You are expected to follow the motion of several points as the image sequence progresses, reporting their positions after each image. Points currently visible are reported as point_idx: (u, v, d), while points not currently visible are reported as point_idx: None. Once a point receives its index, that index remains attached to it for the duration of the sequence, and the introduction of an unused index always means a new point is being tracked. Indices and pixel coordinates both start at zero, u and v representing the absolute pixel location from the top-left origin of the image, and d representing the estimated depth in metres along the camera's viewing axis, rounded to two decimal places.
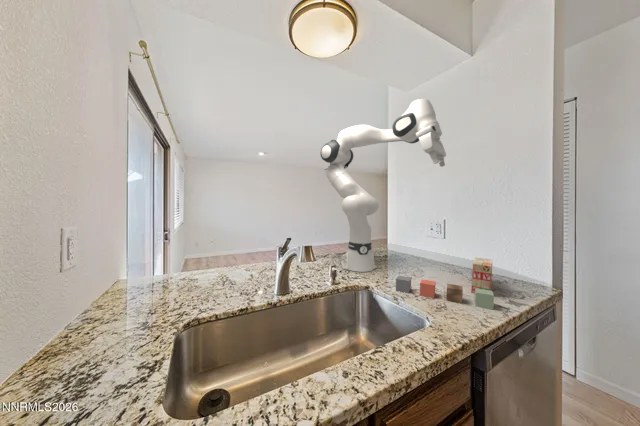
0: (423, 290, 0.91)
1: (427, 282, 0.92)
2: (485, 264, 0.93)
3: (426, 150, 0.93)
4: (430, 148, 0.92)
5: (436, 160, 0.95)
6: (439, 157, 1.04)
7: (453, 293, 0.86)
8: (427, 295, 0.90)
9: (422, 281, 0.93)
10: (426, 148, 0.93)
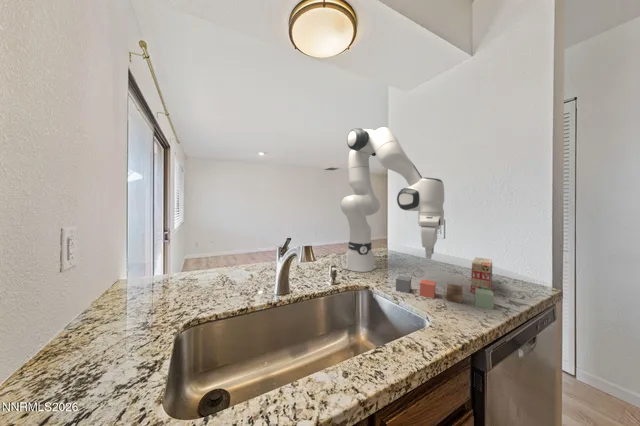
0: (423, 290, 0.91)
1: (427, 282, 0.92)
2: (484, 264, 0.94)
3: (425, 246, 0.83)
4: (429, 246, 0.82)
5: (429, 256, 0.86)
6: None
7: (453, 293, 0.86)
8: (427, 295, 0.90)
9: (422, 281, 0.93)
10: (425, 244, 0.83)
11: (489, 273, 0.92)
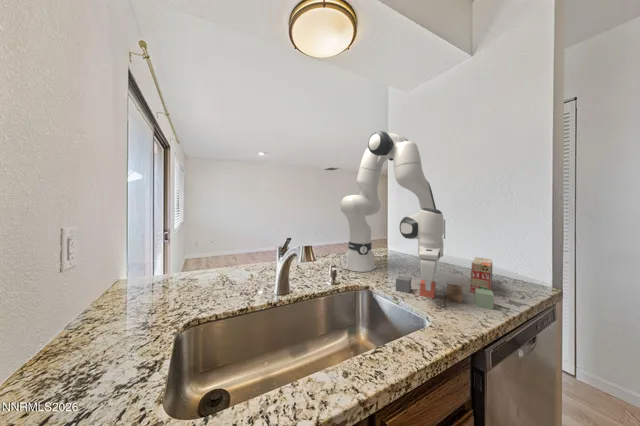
0: (423, 290, 0.91)
1: None
2: (484, 264, 0.94)
3: (425, 279, 0.84)
4: (429, 280, 0.83)
5: (429, 288, 0.87)
6: None
7: (453, 293, 0.86)
8: (427, 295, 0.90)
9: (422, 281, 0.93)
10: (425, 278, 0.83)
11: (489, 273, 0.92)
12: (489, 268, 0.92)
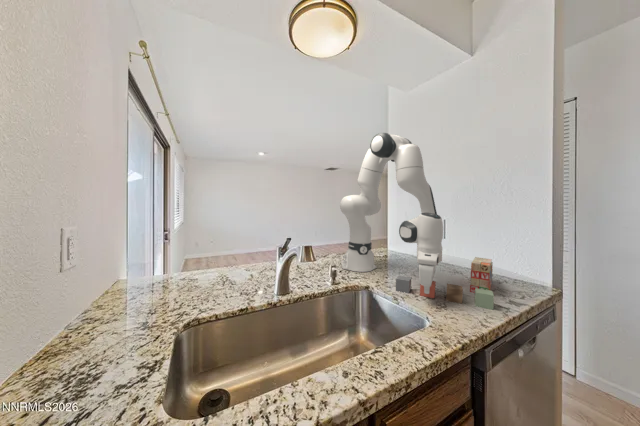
0: (423, 290, 0.91)
1: None
2: (483, 263, 0.94)
3: (423, 284, 0.84)
4: (427, 285, 0.83)
5: (428, 291, 0.89)
6: None
7: (453, 293, 0.86)
8: (427, 295, 0.90)
9: None
10: (423, 283, 0.84)
11: (488, 273, 0.92)
12: (488, 268, 0.92)
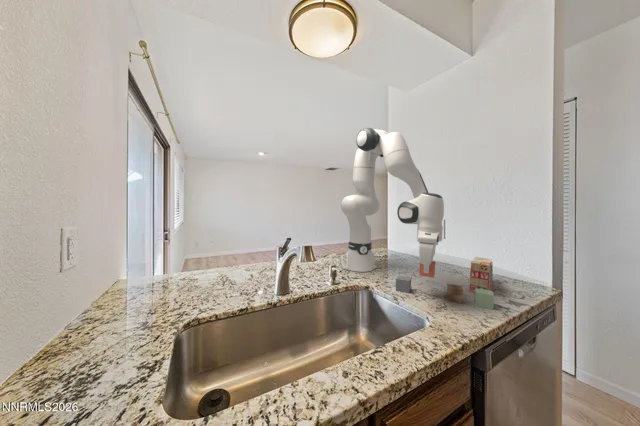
0: (422, 269, 0.91)
1: None
2: (483, 263, 0.94)
3: (422, 263, 0.84)
4: (427, 263, 0.83)
5: (427, 271, 0.88)
6: None
7: (453, 293, 0.86)
8: (427, 274, 0.90)
9: None
10: (422, 261, 0.83)
11: (488, 272, 0.92)
12: (488, 268, 0.92)
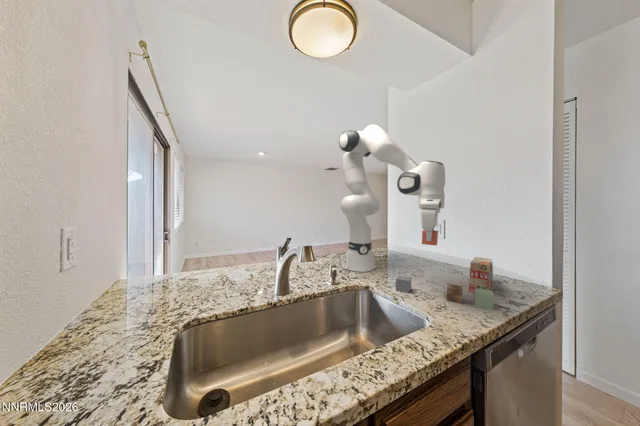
0: (425, 238, 0.90)
1: None
2: (483, 263, 0.95)
3: (425, 228, 0.83)
4: (429, 228, 0.82)
5: (430, 238, 0.88)
6: None
7: (453, 293, 0.86)
8: (429, 243, 0.89)
9: (424, 230, 0.92)
10: (425, 226, 0.83)
11: (487, 272, 0.93)
12: (487, 267, 0.93)
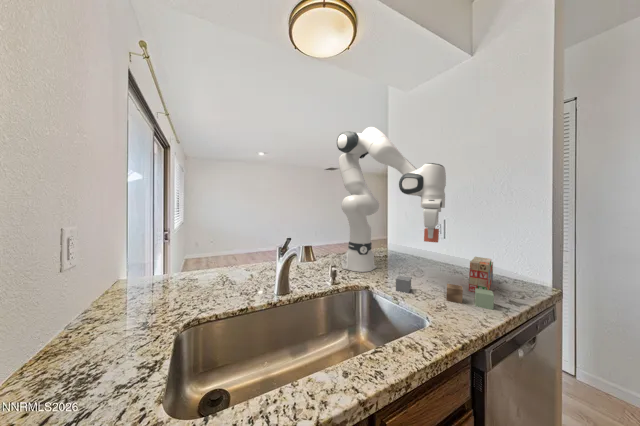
0: (427, 235, 0.96)
1: None
2: (482, 263, 0.95)
3: (427, 226, 0.89)
4: (431, 226, 0.88)
5: (431, 236, 0.94)
6: None
7: (453, 293, 0.86)
8: (431, 240, 0.95)
9: (426, 228, 0.98)
10: (427, 225, 0.89)
11: (486, 272, 0.93)
12: (487, 267, 0.93)
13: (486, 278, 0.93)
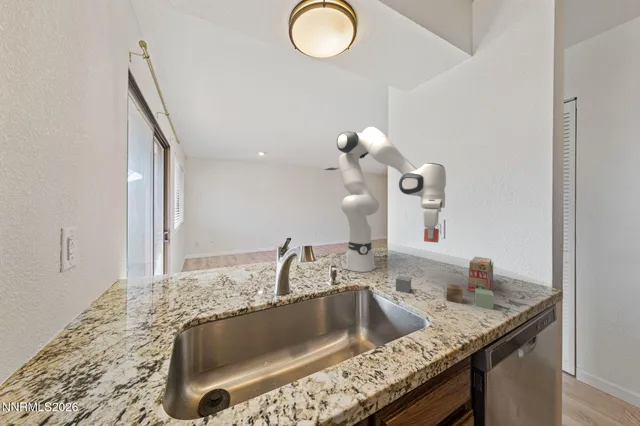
0: (427, 235, 0.96)
1: None
2: (482, 263, 0.95)
3: (427, 226, 0.89)
4: (431, 226, 0.88)
5: (431, 236, 0.94)
6: None
7: (453, 293, 0.86)
8: (431, 240, 0.95)
9: (426, 228, 0.98)
10: (427, 225, 0.89)
11: (486, 272, 0.93)
12: (486, 267, 0.93)
13: (485, 278, 0.93)
